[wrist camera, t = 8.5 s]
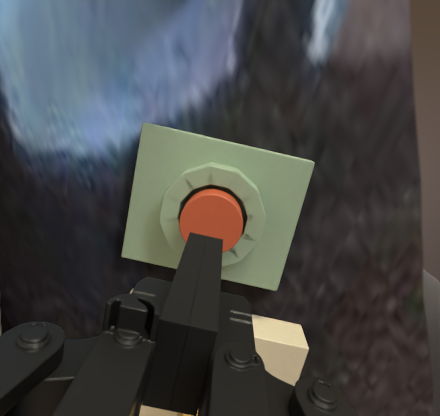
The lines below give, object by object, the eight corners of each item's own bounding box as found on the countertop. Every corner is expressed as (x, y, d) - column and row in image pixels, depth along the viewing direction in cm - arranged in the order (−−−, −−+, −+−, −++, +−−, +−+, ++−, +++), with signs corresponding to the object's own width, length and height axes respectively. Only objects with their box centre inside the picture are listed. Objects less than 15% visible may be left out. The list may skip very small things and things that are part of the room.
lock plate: (301, 323, 27) (310, 349, 24) (269, 421, 30) (273, 455, 27) (132, 286, 27) (120, 307, 24) (115, 388, 30) (101, 419, 26)
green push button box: (311, 160, 24) (322, 165, 21) (274, 284, 26) (280, 304, 24) (146, 122, 24) (134, 122, 21) (125, 251, 26) (112, 267, 23)
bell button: (248, 195, 22) (250, 202, 20) (234, 251, 23) (234, 261, 21) (189, 182, 22) (185, 187, 20) (177, 238, 23) (173, 247, 21)
